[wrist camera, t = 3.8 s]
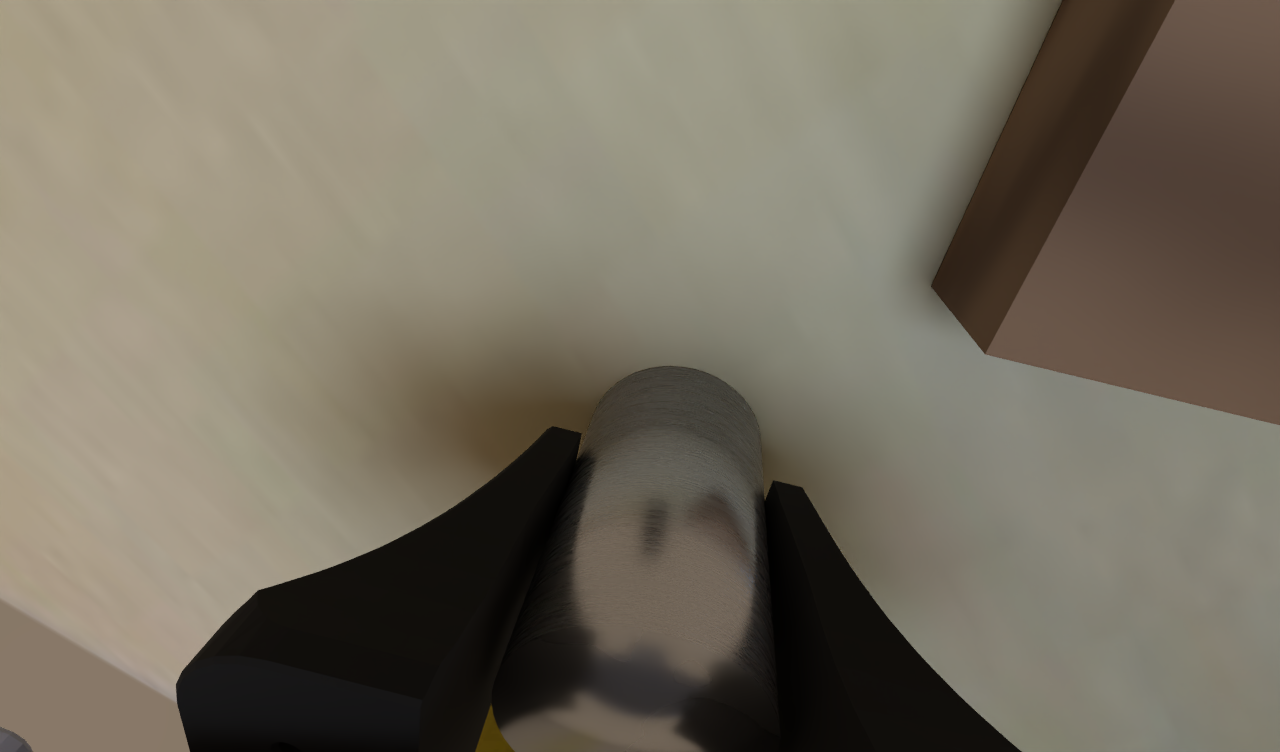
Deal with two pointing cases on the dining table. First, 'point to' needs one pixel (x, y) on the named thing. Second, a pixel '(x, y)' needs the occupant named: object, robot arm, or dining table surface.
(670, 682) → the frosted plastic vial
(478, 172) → the dining table surface
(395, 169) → the dining table surface
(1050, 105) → the dock block
